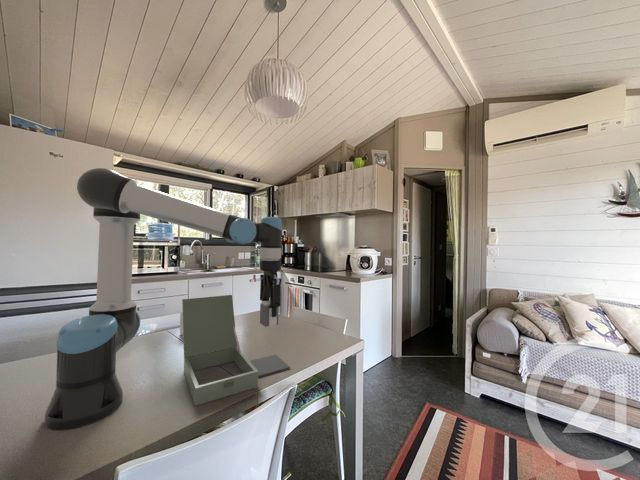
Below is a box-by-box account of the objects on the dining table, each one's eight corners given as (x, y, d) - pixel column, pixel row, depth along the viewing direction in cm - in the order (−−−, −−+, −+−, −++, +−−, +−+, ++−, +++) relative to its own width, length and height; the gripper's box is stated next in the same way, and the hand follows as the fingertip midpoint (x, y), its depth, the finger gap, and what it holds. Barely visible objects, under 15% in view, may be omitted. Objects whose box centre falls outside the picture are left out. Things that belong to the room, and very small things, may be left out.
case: (195, 407, 71) (197, 322, 71) (180, 361, 97) (182, 299, 97) (258, 387, 82) (260, 313, 82) (229, 350, 107) (231, 294, 107)
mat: (258, 377, 87) (258, 375, 87) (245, 363, 97) (246, 361, 97) (290, 368, 94) (290, 366, 94) (275, 355, 104) (275, 354, 104)
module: (265, 327, 92) (266, 304, 92) (259, 322, 96) (260, 301, 96) (278, 324, 95) (279, 302, 95) (272, 320, 99) (272, 299, 99)
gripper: (291, 261, 90) (290, 328, 90) (269, 257, 105) (268, 315, 105) (271, 261, 86) (269, 332, 86) (251, 257, 101) (250, 318, 101)
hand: (269, 322), depth 96 cm, fingers closed on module, 5 cm apart
